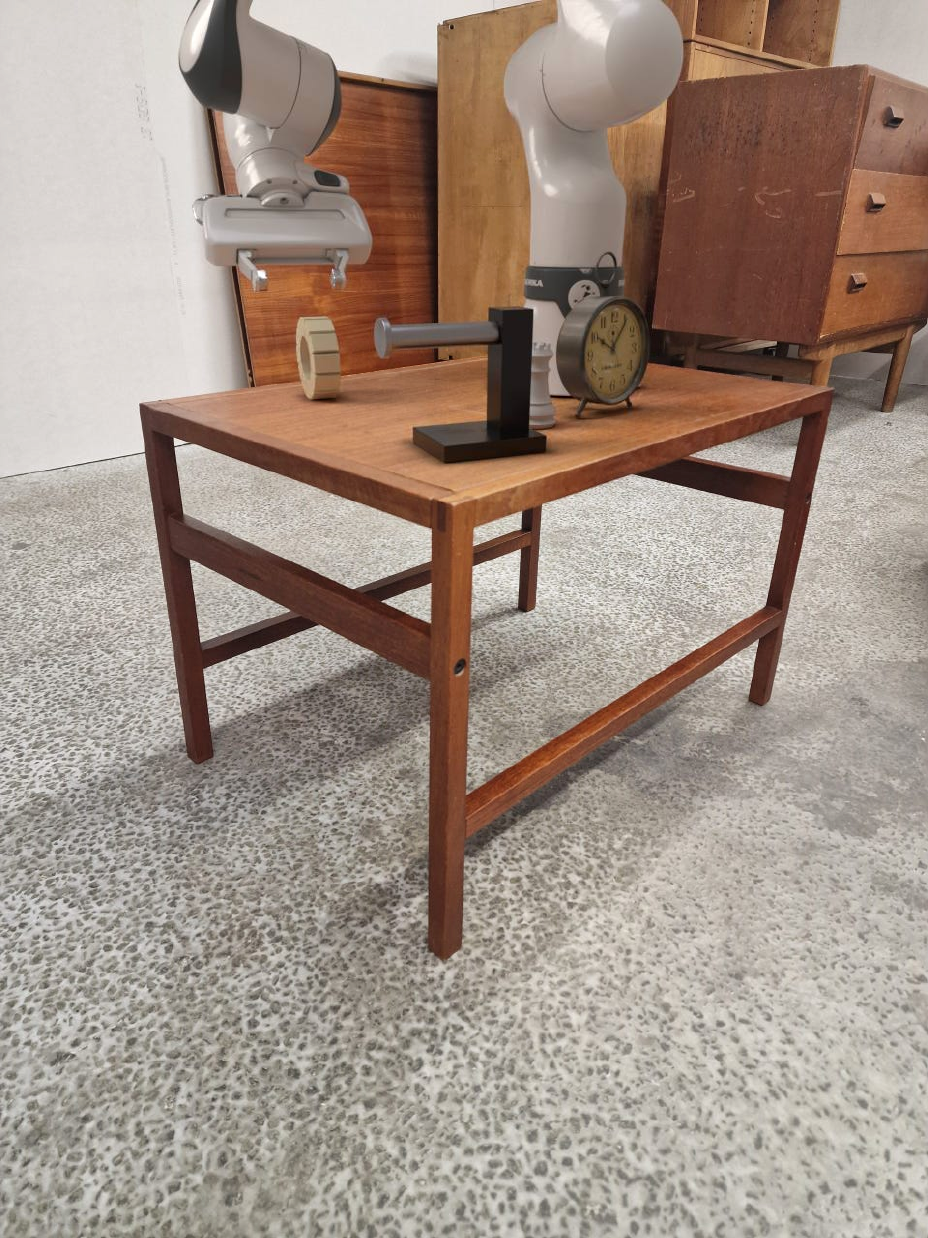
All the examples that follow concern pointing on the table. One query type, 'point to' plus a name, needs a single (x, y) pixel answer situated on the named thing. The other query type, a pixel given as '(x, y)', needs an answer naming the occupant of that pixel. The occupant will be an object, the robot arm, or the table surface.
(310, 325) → the notched ring
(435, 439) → the peg stand
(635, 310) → the alarm clock
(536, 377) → the rook chess piece
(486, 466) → the table surface
